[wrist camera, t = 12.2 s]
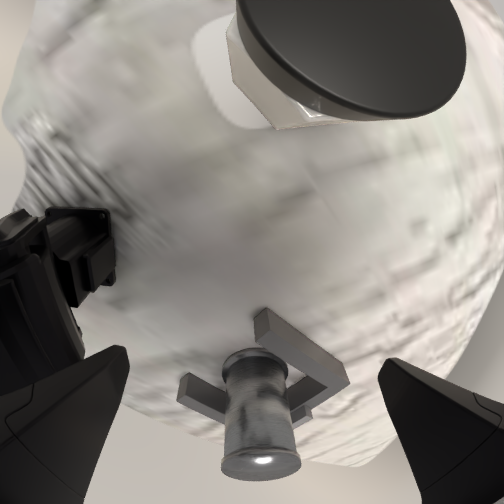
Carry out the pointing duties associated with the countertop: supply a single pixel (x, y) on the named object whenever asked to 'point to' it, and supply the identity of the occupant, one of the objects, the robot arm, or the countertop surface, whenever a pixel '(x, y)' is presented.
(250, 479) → the dark grey flanged cylinder
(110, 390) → the robot arm
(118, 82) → the countertop surface
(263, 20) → the jar
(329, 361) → the u-shaped bracket
